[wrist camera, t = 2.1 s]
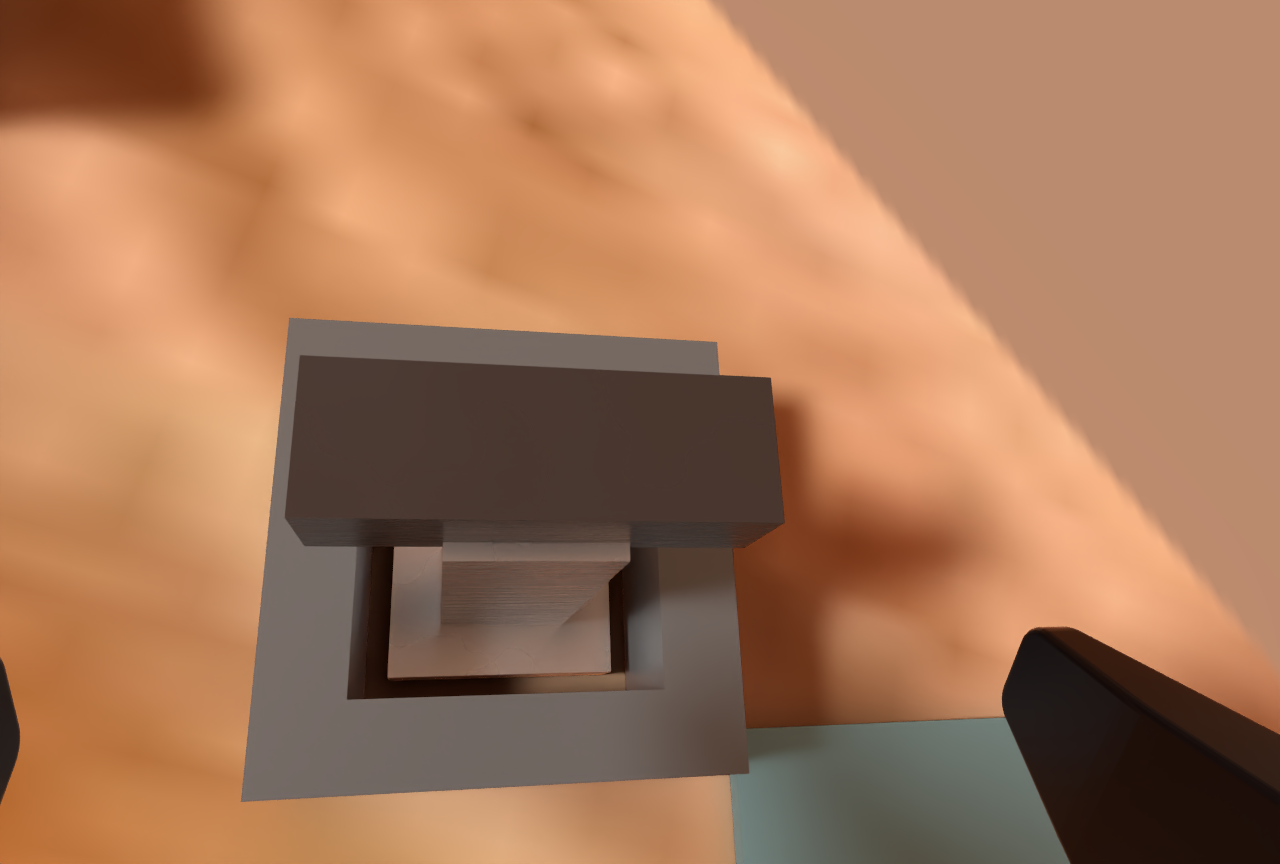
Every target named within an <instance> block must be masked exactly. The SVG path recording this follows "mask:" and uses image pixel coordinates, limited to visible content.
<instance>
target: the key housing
mask: <svg viewBox="0 0 1280 864" xmlns="http://www.w3.org/2000/svg"><path fill="white" fill-rule="evenodd" d="M300 355H308V356H329V357H349V358H370V359H391V360H412V361H433V362H454V363H474V364H495V365H516V366H537V367H558V368H579V369H599V370H620V371H641V372H662V373H683V374H704V375H719V363H718V349H717V342H705V341H687V340H670V339H652V338H634V337H617V336H599V335H581V334H564V333H546V332H528V331H511V330H493V329H475V328H458V327H440V326H422V325H405V324H387V323H369V322H352V321H334V320H316V319H299V318H289V327H288V337H287V347H286V357H285V367H284V377H283V387H282V397H281V407H280V417H279V427H278V437H277V447H276V457H275V467H274V477H273V487H272V497H271V507H270V517H269V527H268V537H267V547H266V557H265V567H264V577H263V587H262V597H261V607H260V617H259V627H258V637H257V647H256V657H255V667H254V677H253V687H252V697H251V707H250V717H249V727H248V737H247V747H246V757H245V768H244V778H243V788H242V798H241V802H246V801H264V800H282V799H300V798H318V797H336V796H354V795H372V794H390V793H409V792H427V791H445V790H463V789H481V788H499V787H517V786H535V785H553V784H571V783H589V782H608V781H626V780H644V779H662V778H680V777H698V776H716V775H734V774H750V773H749V760H748V747H747V734H746V720H745V707H744V694H743V681H742V667H741V654H740V641H739V628H738V614H737V601H736V588H735V575H734V561H733V548H630V562H629V563H628V564H627V565H626V566H625V567H624V568H623V569H622V590H623V620H624V650H625V680H626V691H599V692H569V693H538V694H507V695H477V696H446V697H415V698H385V699H364V687H365V671H366V654H367V637H368V620H369V604H370V587H371V570H372V553H373V547H321V546H304V545H303V543H302V542H301V540H300V539H299V538H298V536H297V535H296V533H295V532H294V530H293V529H292V528H291V526H290V525H289V523H288V522H287V520H286V519H285V507H286V497H287V486H288V475H289V465H290V454H291V444H292V433H293V422H294V412H295V401H296V390H297V380H298V369H299V358H300Z"/></svg>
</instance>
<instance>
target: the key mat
mask: <svg viewBox="0 0 1280 864" xmlns="http://www.w3.org/2000/svg"><path fill="white" fill-rule="evenodd" d="M746 734H747V747H748V760H749V773H750V774H734V775H730V783H731V797H732V812H733V827H734V841H735V856H736V864H1070V862H1069V860H1068V858H1067V856H1066V854H1065V852H1064V849H1063V847H1062V845H1061V843H1060V841H1059V839H1058V837H1057V834H1056V832H1055V830H1054V827H1053V825H1052V823H1051V821H1050V818H1049V816H1048V814H1047V811H1046V809H1045V807H1044V805H1043V802H1042V800H1041V798H1040V795H1039V793H1038V791H1037V789H1036V786H1035V784H1034V782H1033V780H1032V777H1031V775H1030V773H1029V770H1028V768H1027V766H1026V764H1025V761H1024V759H1023V757H1022V754H1021V752H1020V750H1019V748H1018V745H1017V743H1016V741H1015V738H1014V736H1013V734H1012V732H1011V729H1010V727H1009V725H1008V722H1007V720H1006V718H1005V717H1004V718H981V719H958V720H935V721H912V722H889V723H866V724H843V725H820V726H797V727H775V728H752V729H746Z"/></svg>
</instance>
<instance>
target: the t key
mask: <svg viewBox="0 0 1280 864" xmlns="http://www.w3.org/2000/svg"><path fill="white" fill-rule="evenodd" d="M285 519H286V520H287V522H288V523H289V525H290V526H291V528H292V529H293V530H294V532H295V533H296V535H297V536H298V538H299V539H300V540H301V542H302V543H303V545H304V546H321V547H394V561H393V580H392V599H391V619H390V638H389V657H388V677H387V678H388V679H389V680H390V681H399V680H434V679H469V678H504V677H539V676H575V675H603V674H606V673H608V672H611V655H610V620H609V585H608V582H609V581H610V580H611V579H612V578H613V577H614V576H615V575H616V574H617V573H618V572H619V571H620V570H622V569H623V568H624V567H625V566H626V565H627V564H628V563H629V562H630V548H745V547H746V546H748V545H750V544H751V543H753V542H754V541H756V540H758V539H759V538H761V537H762V536H764V535H766V534H767V533H769V532H770V531H772V530H774V529H775V528H777V527H779V526H780V525H782V524H783V523H785V521H784V511H783V500H782V490H781V480H780V469H779V459H778V448H777V438H776V428H775V417H774V407H773V396H772V386H771V378H766V377H745V376H724V375H704V374H683V373H662V372H641V371H620V370H599V369H579V368H558V367H537V366H516V365H495V364H474V363H454V362H433V361H412V360H391V359H370V358H349V357H329V356H308V355H300V358H299V369H298V380H297V390H296V401H295V412H294V422H293V433H292V444H291V454H290V465H289V475H288V486H287V497H286V507H285Z"/></svg>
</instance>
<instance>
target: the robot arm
mask: <svg viewBox="0 0 1280 864" xmlns="http://www.w3.org/2000/svg"><path fill="white" fill-rule="evenodd" d="M1002 707H1003V711H1004V715H1005V718H1006V720H1007V722H1008V725H1009V727H1010V729H1011V732H1012V734H1013V736H1014V738H1015V741H1016V743H1017V745H1018V748H1019V750H1020V752H1021V754H1022V757H1023V759H1024V761H1025V764H1026V766H1027V768H1028V770H1029V773H1030V775H1031V777H1032V780H1033V782H1034V784H1035V786H1036V789H1037V791H1038V793H1039V795H1040V798H1041V800H1042V802H1043V805H1044V807H1045V809H1046V811H1047V814H1048V816H1049V818H1050V821H1051V823H1052V825H1053V827H1054V830H1055V832H1056V834H1057V837H1058V839H1059V841H1060V843H1061V845H1062V847H1063V849H1064V852H1065V854H1066V856H1067V858H1068V860H1069V862H1070V864H1280V735H1279V734H1277V733H1275V732H1273V731H1271V730H1270V729H1268V728H1266V727H1264V726H1262V725H1260V724H1258V723H1256V722H1254V721H1252V720H1250V719H1248V718H1246V717H1244V716H1243V715H1241V714H1239V713H1237V712H1235V711H1233V710H1231V709H1229V708H1227V707H1225V706H1223V705H1221V704H1219V703H1217V702H1216V701H1214V700H1212V699H1210V698H1208V697H1206V696H1204V695H1202V694H1200V693H1198V692H1196V691H1194V690H1192V689H1191V688H1189V687H1187V686H1185V685H1183V684H1181V683H1179V682H1177V681H1175V680H1173V679H1171V678H1169V677H1167V676H1165V675H1164V674H1162V673H1160V672H1158V671H1156V670H1154V669H1152V668H1150V667H1148V666H1146V665H1144V664H1142V663H1140V662H1138V661H1137V660H1135V659H1133V658H1131V657H1129V656H1127V655H1125V654H1123V653H1121V652H1119V651H1117V650H1115V649H1113V648H1112V647H1110V646H1108V645H1106V644H1104V643H1102V642H1100V641H1098V640H1096V639H1094V638H1092V637H1090V636H1088V635H1086V634H1085V633H1083V632H1081V631H1079V630H1076V629H1074V628H1070V627H1038V628H1034V629H1031V630H1030V631H1029V632H1028V633H1027V634H1026V635H1025V636H1024V638H1023V639H1022V642H1021V644H1020V647H1019V649H1018V652H1017V655H1016V657H1015V660H1014V662H1013V665H1012V667H1011V670H1010V672H1009V675H1008V678H1007V680H1006V683H1005V685H1004V688H1003V692H1002ZM19 745H20V729H19V724H18V719H17V715H16V711H15V707H14V703H13V699H12V695H11V691H10V686H9V682H8V678H7V674H6V670H5V666H4V664H3V661H2V659H1V658H0V804H1V801H2V799H3V796H4V793H5V790H6V788H7V785H8V782H9V780H10V777H11V774H12V771H13V769H14V766H15V763H16V760H17V756H18V752H19Z"/></svg>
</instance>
